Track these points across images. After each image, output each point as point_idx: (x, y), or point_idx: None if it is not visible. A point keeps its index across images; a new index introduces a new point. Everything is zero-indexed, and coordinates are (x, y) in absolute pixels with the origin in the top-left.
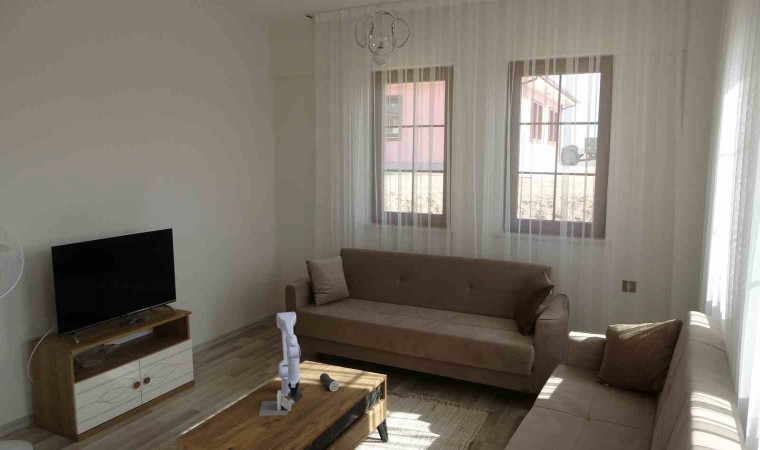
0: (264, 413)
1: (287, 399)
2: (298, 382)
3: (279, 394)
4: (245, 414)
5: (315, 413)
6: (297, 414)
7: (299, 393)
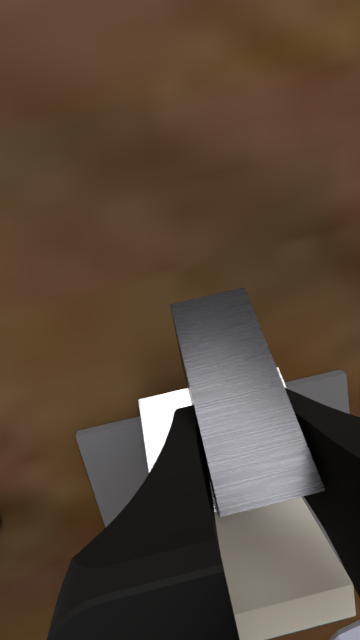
0: (326, 535)
1: (147, 458)
2: (214, 530)
3: (330, 600)
4: (319, 627)
5: (291, 124)
6: (314, 296)
7: (270, 355)
